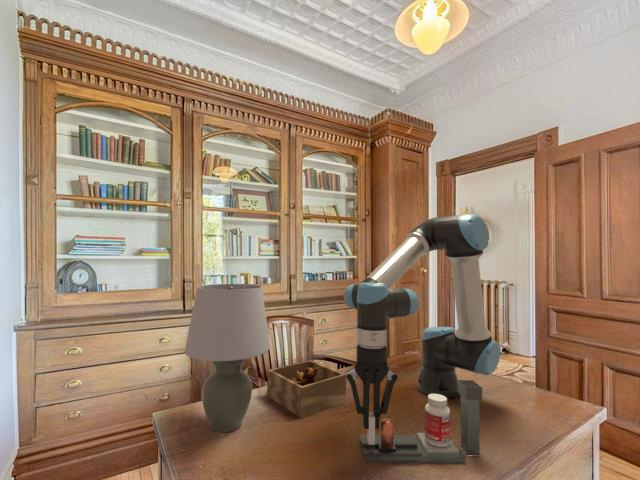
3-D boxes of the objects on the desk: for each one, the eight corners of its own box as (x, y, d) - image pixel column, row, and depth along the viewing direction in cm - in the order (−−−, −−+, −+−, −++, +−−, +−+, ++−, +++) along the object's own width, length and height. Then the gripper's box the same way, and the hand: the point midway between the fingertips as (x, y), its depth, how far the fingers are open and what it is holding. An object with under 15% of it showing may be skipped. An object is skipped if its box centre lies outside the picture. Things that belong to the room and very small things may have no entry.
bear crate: (267, 396, 117) (267, 370, 117) (309, 383, 129) (310, 360, 129) (300, 418, 101) (301, 388, 102) (345, 401, 113) (346, 374, 114)
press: (363, 463, 80) (364, 390, 81) (358, 440, 90) (359, 376, 90) (488, 464, 80) (487, 392, 81) (469, 441, 90) (469, 377, 91)
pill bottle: (444, 451, 81) (444, 404, 82) (420, 441, 85) (420, 397, 85) (453, 440, 86) (453, 396, 86) (430, 432, 90) (430, 390, 90)
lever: (379, 453, 81) (380, 424, 81) (377, 446, 84) (377, 418, 84) (396, 453, 81) (396, 424, 81) (393, 446, 84) (393, 418, 84)
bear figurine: (315, 389, 124) (316, 356, 124) (327, 407, 110) (328, 369, 110) (279, 393, 120) (279, 358, 121) (286, 412, 106) (287, 373, 106)
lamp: (282, 431, 94) (285, 288, 96) (194, 459, 80) (200, 292, 82) (248, 400, 113) (252, 282, 115) (173, 418, 100) (178, 284, 102)
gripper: (347, 348, 80) (345, 450, 79) (401, 349, 80) (401, 450, 79) (344, 340, 87) (343, 433, 86) (394, 341, 87) (393, 433, 86)
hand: (370, 441), depth 82 cm, fingers closed
